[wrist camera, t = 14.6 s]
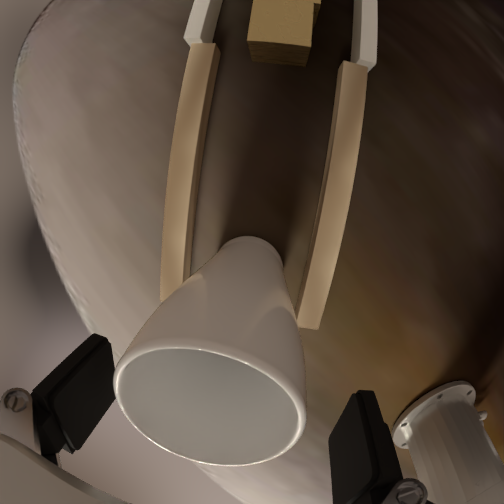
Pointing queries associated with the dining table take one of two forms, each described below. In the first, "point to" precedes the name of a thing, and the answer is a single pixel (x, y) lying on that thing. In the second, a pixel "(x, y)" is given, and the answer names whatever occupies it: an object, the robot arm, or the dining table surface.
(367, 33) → the u-shaped frame
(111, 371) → the robot arm
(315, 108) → the dining table surface
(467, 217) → the dining table surface
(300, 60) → the wooden cube
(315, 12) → the tan cube
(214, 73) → the channel
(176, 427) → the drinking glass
